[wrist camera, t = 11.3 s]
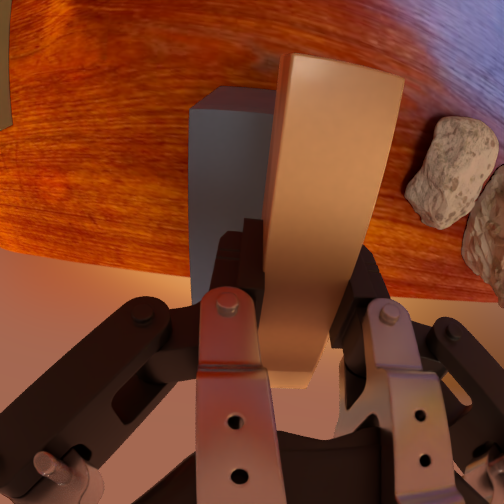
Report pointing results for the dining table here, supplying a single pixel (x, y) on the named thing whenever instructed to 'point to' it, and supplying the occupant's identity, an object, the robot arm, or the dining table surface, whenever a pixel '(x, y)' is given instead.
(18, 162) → the dining table surface
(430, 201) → the decorative stone
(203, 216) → the upper shelf
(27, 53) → the dining table surface
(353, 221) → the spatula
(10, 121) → the low shelf
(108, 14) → the dining table surface
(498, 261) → the ceramic cottage
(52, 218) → the dining table surface
